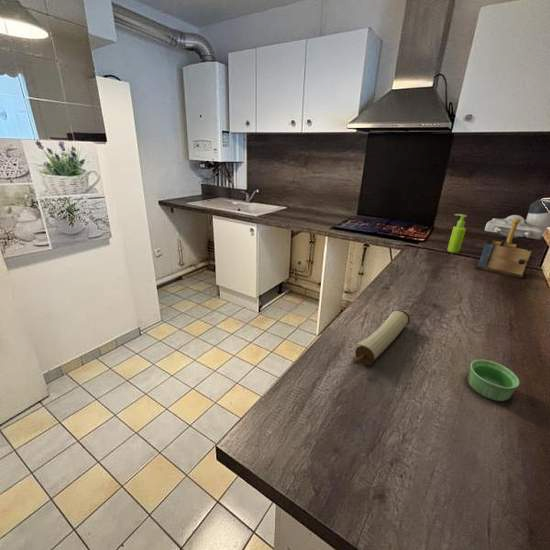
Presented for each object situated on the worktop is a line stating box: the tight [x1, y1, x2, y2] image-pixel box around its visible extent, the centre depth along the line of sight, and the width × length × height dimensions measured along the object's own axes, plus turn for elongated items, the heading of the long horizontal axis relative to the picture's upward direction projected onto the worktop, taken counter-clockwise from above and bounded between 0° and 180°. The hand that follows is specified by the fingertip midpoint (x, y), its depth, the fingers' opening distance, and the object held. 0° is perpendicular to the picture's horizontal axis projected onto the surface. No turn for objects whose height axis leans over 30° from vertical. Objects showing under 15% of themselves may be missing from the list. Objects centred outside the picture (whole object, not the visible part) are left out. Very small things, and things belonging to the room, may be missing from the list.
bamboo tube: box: [353, 310, 411, 366], centre depth 80 cm, size 32×6×5 cm, turn 137°
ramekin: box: [467, 359, 521, 402], centre depth 65 cm, size 9×9×4 cm
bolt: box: [492, 218, 520, 248], centre depth 127 cm, size 10×3×12 cm, turn 51°
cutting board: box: [475, 236, 534, 280], centre depth 130 cm, size 17×6×14 cm, turn 51°
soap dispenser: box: [446, 213, 468, 254], centre depth 156 cm, size 6×7×20 cm
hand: (511, 233), depth 125 cm, fingers open, 8 cm apart
